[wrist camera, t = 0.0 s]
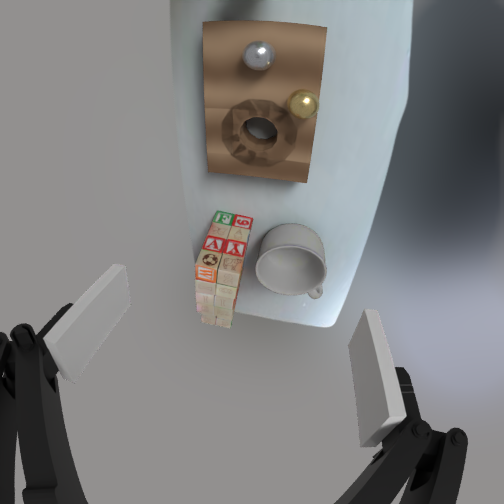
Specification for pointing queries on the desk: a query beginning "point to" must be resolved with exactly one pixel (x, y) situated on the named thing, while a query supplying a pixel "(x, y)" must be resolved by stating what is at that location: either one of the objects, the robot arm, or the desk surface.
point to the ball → (259, 55)
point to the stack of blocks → (221, 268)
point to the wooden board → (260, 97)
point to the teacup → (292, 261)
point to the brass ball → (303, 104)
